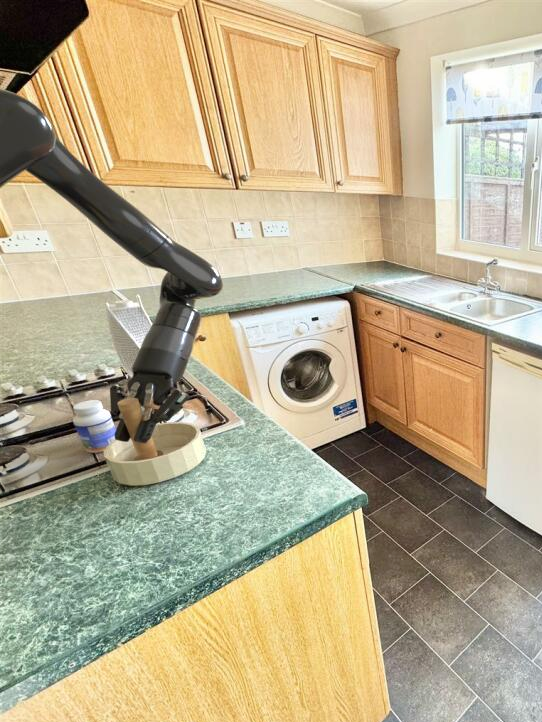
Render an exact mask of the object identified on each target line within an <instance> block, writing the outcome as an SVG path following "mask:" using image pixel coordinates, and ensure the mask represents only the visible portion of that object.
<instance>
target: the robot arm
mask: <svg viewBox="0 0 542 722" xmlns="http://www.w3.org/2000/svg"><path fill="white" fill-rule="evenodd" d="M23 172H27V173H29V174H30V175H32V176H33V177H35V178H36V179H38V180H39V181H40V182H42V183H43V184H45V185H46V186H47V187H49V188H50V189H51V190H53V192H55V193H56V194H58V195H59V196H60V197H61V198H63V199H64V200H65V201H67V202H68V204H70V205H71V206H72V207H74V208H75V209H76V210H77V211H78V212H80V213H81V214H82V215H83V216H84V217H85V218H86V219H88V220H89V222H91V223H92V224H93V225H94V226H95V227H97V229H99V230H100V231H101V232H103V233H104V235H106V236H107V237H108V238H109V239H111V240H112V241H113V242H114V243H115V244H117V245H118V246H119V247H121V248H122V249H123V250H124V251H125V252H127V254H129V255H131V256H132V258H135V260H137V261H138V262H140V263H141V264H142V265H144V266H146V267H148V268H151V269H158V270H162V271H165V272H166V273H165V274H164V276H163V278H162V280H161V283H160V291H159V292H160V293H159V303H158V304H159V307H158V310H157V312H156V314H155V317H154V319H153V321H152V322H151V323H152V326H151V328H150V330H149V331H148V333H147V334H146V336H145V338H144V340H143V343H142V345H141V348H140V350H139V352H138V355H137V357H136V359H135V362H134V364H133V367H132V371H133V377H132V378H130V379H129V380H128V381H127V382H126V384H123V385H120V386H118V385H116V384H113V385H110V387H109V399H110V400H109V401H110V414H111V415H113V416H116V417H118V418H119V422H118V424H117V427H116V431H115V440H118V441H122V442H128V441H129V439H130V435H129V433H128V430H127V427H126V425H125V422H124V420H123V417H122V414H121V412H120V409H119V407H118V404H117V403H118V402H119V401H121V400H124V399H127V398H137V399H138V400H139V403H140V406H141V409H142V411H144V414H143V420H144V421H140V424H139V426H138V429H137V431H136V434H135V436H134V441H135V442H139V443H147V441H148V440H149V439H150V438H151V436H152V433H153V431H154V428H155V425H156V424H160V422H169V421H170V420H171V419H172V418H173V417H174V415H175V414H176V413H177V412H178V411H179V410H180V408H181V407H182V406H183V405H184V404H185V403H186V402H187V400H188V399H189V398H190V395H189V394H188V393H186V392H184V391H182V390H180V389H178V388H179V385H178V383H179V382H181V381H182V379H183V378H184V374H185V371H186V369H187V366H188V363H189V361H190V358H191V355H192V353H193V350H194V344H195V340H196V337H197V335H198V332H199V330H200V327H201V324H202V320H203V318H202V317H203V316H202V313H201V312H200V310H198V309H197V308H195V305H196V303H197V300H203V299H210V298H214V297H216V296H218V295H219V294H220V293H221V292H222V290H223V288H224V287H223V286H224V281H223V278H222V276H221V275H220V272H219V271H218V270H217V269H216V267H214V266H213V265H212V264H211V263H210V262H209V261H207V260H206V259H204V258H203V257H201V256H200V255H198V254H197V253H196V252H194V251H192V250H190V249H188V248H187V247H185V246H183V245H182V244H180V243H178V242H176V241H175V240H173V239H172V238H171V236H169V235H168V234H167V233H166V232H165V231H164V230H162V228H160V227H159V226H158V225H157V224H156V223H155V222H154V221H152V220H151V219H150V218H149V217H148V216H147V215H146V214H144V213H143V212H142V211H140V210H139V208H137V207H136V206H134V205H133V203H130V201H128V200H127V199H126V198H124V197H123V196H122V195H121V194H119V193H118V192H116V191H115V190H114V189H113V188H111V187H110V186H109V185H107V184H106V183H105V182H104V181H103V180H101V179H100V178H99V177H98V176H97V175H95V174H94V173H93V172H92V171H91V170H90V169H89V168H87V167H86V166H85V165H84V164H83V163H82V162H81V161H80V160H79V159H78V158H77V157H76V156H75V155H74V154H73V153H72V152H71V151H70V150H69V149H68V148H67V147H66V146H65V144H63V142H62V141H61V140H60V139H59V138H58V137H57V135H56V131H55V128H54V126H53V124H52V122H51V120H50V119H49V118H48V116H47V115H46V114H45V112H43V110H42V109H41V108H39V106H38V105H36V104H35V103H33V102H32V101H30V100H29V99H27V98H25V97H23V96H22V95H19V94H18V93H15V92H13V91H10V90H7V89H3V88H0V189H1V188H3V187H4V186H5V185H7V184H8V183H10V182H11V181H12V180H14V179H15V178H17V177H18V176H20V175H21V174H22V173H23ZM168 409H169V410H168ZM167 410H168V411H167ZM166 411H167V412H166ZM165 412H166V413H165ZM164 413H165V414H164Z"/></svg>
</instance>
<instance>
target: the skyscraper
mask: <svg viewBox="0 0 542 722" xmlns="http://www.w3.org/2000/svg"><path fill="white" fill-rule="evenodd" d="M135 299H136V301H134V302H133V300H131V299H122V300H121V299H120V300H116V301H114V303H113V304H109V302H105V310H106V317H107V323H108V328H109V334H110V337H111V342H112V344H113V348H114V350H115V352H116V355H117V357H118V360H119V361H120V363H121V365H122V367H123V368H124V370H125V372H126V374H127V376H128V377H129V378H130V379H131V378H132V377H133V371H132V367H133V364H134V362H135V359H136V357H137V355H138V352H139V350H140V348H141V345H142V343H143V340H144V338H145V336H146V334H147V333H148V331H149V330H150V328H151V326H152V323H153V322H152V321H151V319H150V317H149V315H148V313H147V311H146V310H145V308H144V306H143V302H142V298H141V296H140V295H139V293H136V294H135Z"/></svg>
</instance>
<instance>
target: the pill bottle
mask: <svg viewBox="0 0 542 722" xmlns="http://www.w3.org/2000/svg"><path fill="white" fill-rule="evenodd" d="M72 409H73V412H74V414H75V416H74V417H73V418H72V423H73V425H74V427H75V430H76V433H77V434H78V437H79V439H80V441H81V444H82V446H83V448H84V450H85V451H86V452H87V453H90V454H91V453H92V454H97V453H104V450H105V449H106V447H107V446H108V445H109V444H110V443H111V442H113V441H114V440H115V431H116V429H117V427H116V426H115V423H114V420H113V418H112V414H111V411H109V410H108V409H105V408H104V406H103V403H102V401H100V400H98V399H90V400H85V401H81V402H78V403H76V404H74V405H73V407H72Z"/></svg>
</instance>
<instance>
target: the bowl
mask: <svg viewBox="0 0 542 722" xmlns="http://www.w3.org/2000/svg"><path fill="white" fill-rule="evenodd" d="M152 439H153V442H154V445H155V447H156V450H160V451H162V452H163V454H164V455H162V456H159V457H155V458H152V459H146V460H140V461H133V460H134V458H135V457H136V456H137V453H136V451H135V448H134V446H133V443H132V440H131V438H130V439H129V441H128V442H122V441H118V440H114V441H113V442H111V443H110V444H109V445H108V446H107V447H106V449H105V450H104V451H103V458H104V460H105V463H106V465H107V467H108V469H109V472H110V474H111V476H112V478H113V480H114V481H115V482H117V483H118V484H119V485H120V484H121V485H126V486H147V485H151V484H158V483H162V482H165V481H168V480H171V479H174V478H177V477H179V476H181V475H183V474H185V473H188V472H189V471H191V470H193V469H194V468H196V467H197V466H199V464H200V463H201V462H202V461H203V460H204V459H205V457H206V454H207V447H206V445H205V441H204V438H203V435H202V432H201V430H200V427H199V426H198V425H196V424H194V423H191V422H184V421H170V422H169V421H167V422H162V423H157V424H156V425H155V428H154V431H153V433H152Z"/></svg>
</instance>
